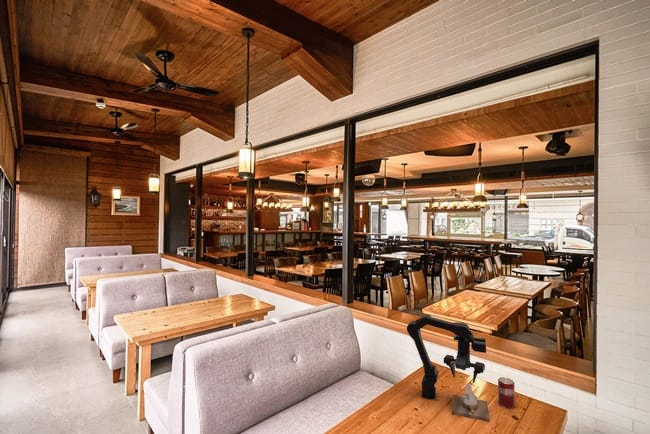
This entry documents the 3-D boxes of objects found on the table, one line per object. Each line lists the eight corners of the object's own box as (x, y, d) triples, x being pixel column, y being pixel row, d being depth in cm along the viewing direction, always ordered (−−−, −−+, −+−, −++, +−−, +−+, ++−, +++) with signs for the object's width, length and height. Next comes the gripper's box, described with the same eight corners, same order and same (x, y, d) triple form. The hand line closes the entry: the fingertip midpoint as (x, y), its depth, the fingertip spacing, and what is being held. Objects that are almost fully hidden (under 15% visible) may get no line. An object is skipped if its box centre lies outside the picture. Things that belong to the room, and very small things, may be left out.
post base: (452, 414, 153) (452, 410, 153) (452, 397, 167) (452, 394, 167) (489, 421, 147) (489, 418, 147) (487, 404, 161) (487, 400, 161)
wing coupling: (460, 398, 163) (460, 383, 163) (475, 400, 161) (475, 384, 161) (464, 412, 151) (464, 395, 151) (480, 414, 150) (480, 397, 150)
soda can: (517, 409, 156) (516, 384, 156) (501, 407, 157) (500, 383, 157) (511, 401, 163) (511, 377, 163) (496, 399, 164) (495, 376, 165)
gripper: (440, 350, 161) (440, 381, 161) (480, 359, 150) (480, 393, 150) (446, 343, 170) (446, 372, 170) (485, 351, 159) (485, 383, 159)
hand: (463, 380), depth 162 cm, fingers open, 9 cm apart
